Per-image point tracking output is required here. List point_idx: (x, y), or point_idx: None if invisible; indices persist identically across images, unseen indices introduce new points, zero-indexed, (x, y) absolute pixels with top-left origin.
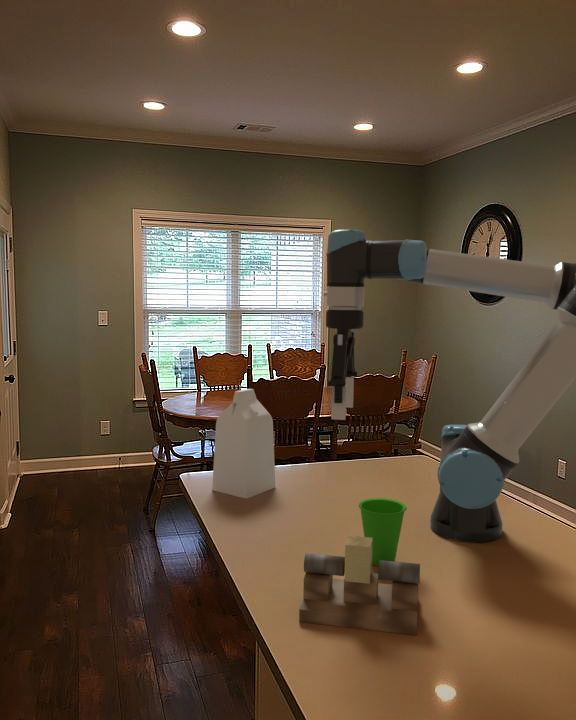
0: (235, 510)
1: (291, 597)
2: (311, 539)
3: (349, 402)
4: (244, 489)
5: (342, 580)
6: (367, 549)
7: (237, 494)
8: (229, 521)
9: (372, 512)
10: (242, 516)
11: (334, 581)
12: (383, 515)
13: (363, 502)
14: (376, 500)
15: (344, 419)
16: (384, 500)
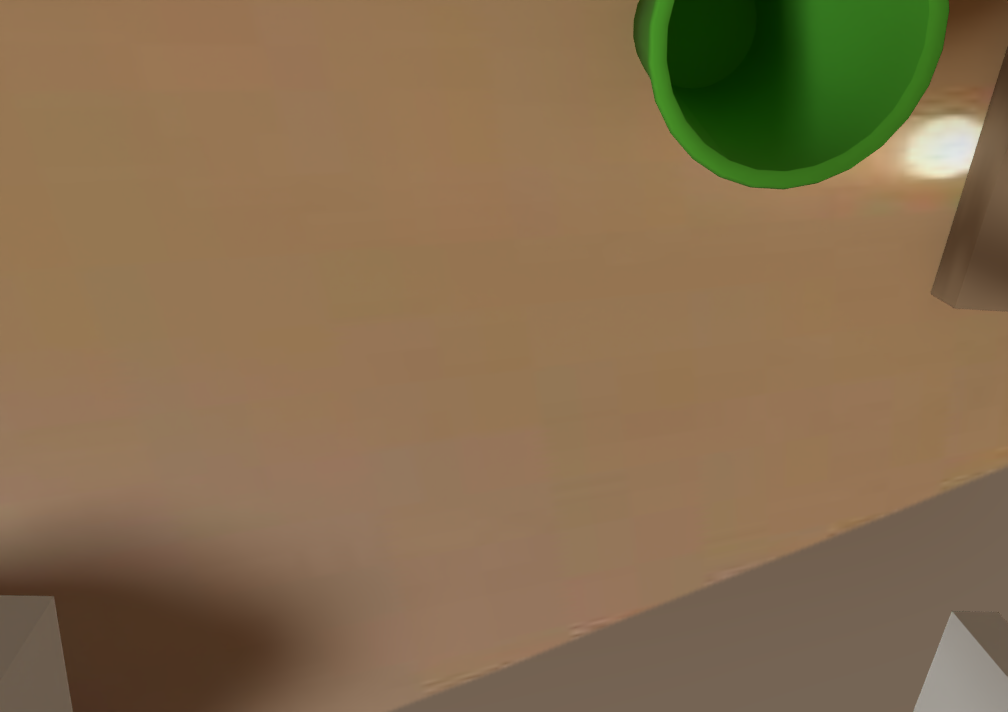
0: (214, 668)
1: (994, 350)
2: (481, 344)
3: (25, 703)
4: None
5: (1001, 195)
6: None
7: None
8: (346, 658)
9: (915, 103)
10: (277, 631)
11: (1005, 225)
12: (928, 32)
13: (725, 160)
14: (667, 75)
15: (996, 623)
16: (669, 18)
